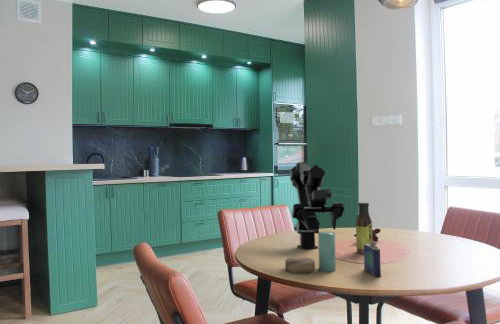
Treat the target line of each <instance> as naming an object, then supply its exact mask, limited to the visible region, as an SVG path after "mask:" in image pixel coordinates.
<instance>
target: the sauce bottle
mask: <svg viewBox="0 0 500 324" xmlns="http://www.w3.org/2000/svg"><path fill="white" fill-rule="evenodd" d="M357 204H358V205H357V206H358V215H357V217H356V219H355V234H356V237H355V238H356V239H355V241H356V242H355V243H356V244H355V245H356V246H355V247H356V252H357V253H359V254H364V244H370V242H369V241H372V229H373V222H372V219H371V216H370V212H369V207H370V205H369V204H370V203H369V202H367V201H360V202H358V203H357Z"/></svg>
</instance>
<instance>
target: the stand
mask: <svg viewBox="0 0 500 324" xmlns="http://www.w3.org/2000/svg"><path fill="white" fill-rule="evenodd" d="M284 263H285V271H286V272H288V273H289V274H294V275H295V274H297V275H306V274H312V273H314V272H315V270H316V261H315V259H314V258H310V257H305V256H304V257H303V256H294V257H290V258H287V259H285V262H284Z"/></svg>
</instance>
